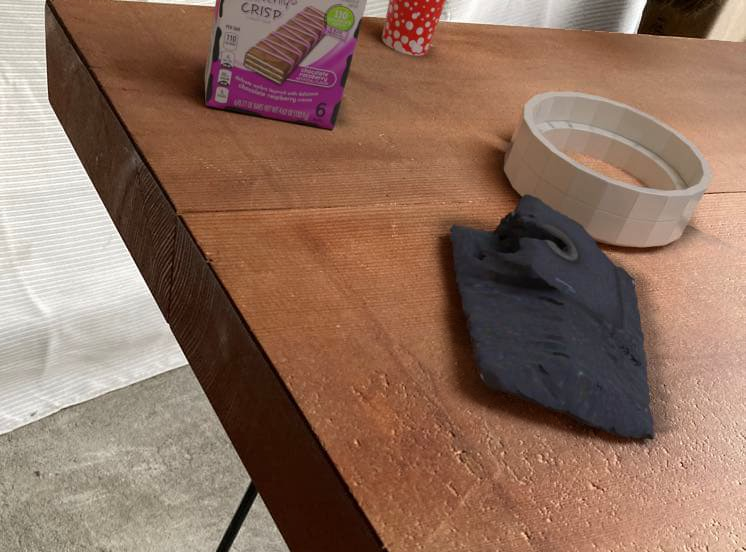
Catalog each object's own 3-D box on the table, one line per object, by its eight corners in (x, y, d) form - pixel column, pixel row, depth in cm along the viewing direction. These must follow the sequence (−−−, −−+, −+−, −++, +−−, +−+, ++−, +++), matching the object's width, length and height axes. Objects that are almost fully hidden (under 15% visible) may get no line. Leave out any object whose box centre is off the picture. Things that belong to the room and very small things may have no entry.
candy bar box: (204, 110, 80) (236, -120, 68) (202, 81, 83) (233, -142, 71) (337, 133, 83) (390, -83, 71) (330, 105, 86) (380, -106, 74)
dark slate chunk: (434, 399, 62) (458, 338, 58) (446, 224, 77) (466, 168, 73) (661, 460, 63) (698, 404, 60) (630, 277, 78) (658, 224, 75)
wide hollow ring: (695, 205, 90) (726, 149, 86) (657, 280, 79) (691, 219, 75) (533, 131, 93) (556, 73, 89) (474, 193, 81) (497, 130, 77)
